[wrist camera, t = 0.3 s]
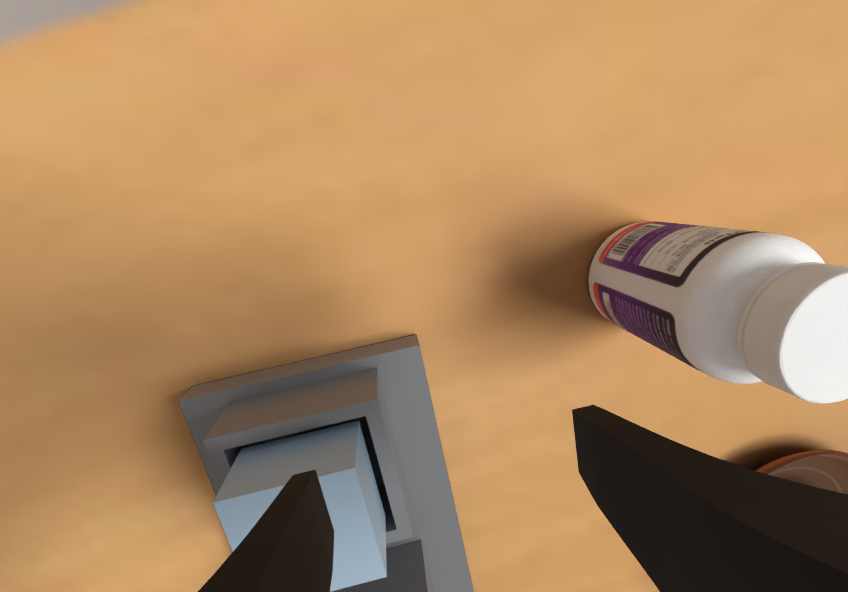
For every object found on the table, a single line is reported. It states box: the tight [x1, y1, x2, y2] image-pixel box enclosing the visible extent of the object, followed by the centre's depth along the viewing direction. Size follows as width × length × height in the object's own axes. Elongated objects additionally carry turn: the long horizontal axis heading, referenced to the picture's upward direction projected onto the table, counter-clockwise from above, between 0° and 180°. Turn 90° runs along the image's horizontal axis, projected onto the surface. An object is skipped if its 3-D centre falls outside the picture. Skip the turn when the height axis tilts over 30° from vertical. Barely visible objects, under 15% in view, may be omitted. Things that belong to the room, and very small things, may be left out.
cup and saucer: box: [755, 450, 848, 494], centre depth 23 cm, size 12×12×6 cm
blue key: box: [213, 420, 387, 592], centre depth 16 cm, size 5×5×3 cm
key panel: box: [178, 334, 474, 592], centre depth 20 cm, size 18×11×4 cm, turn 12°
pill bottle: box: [588, 221, 848, 403], centre depth 16 cm, size 5×5×10 cm
